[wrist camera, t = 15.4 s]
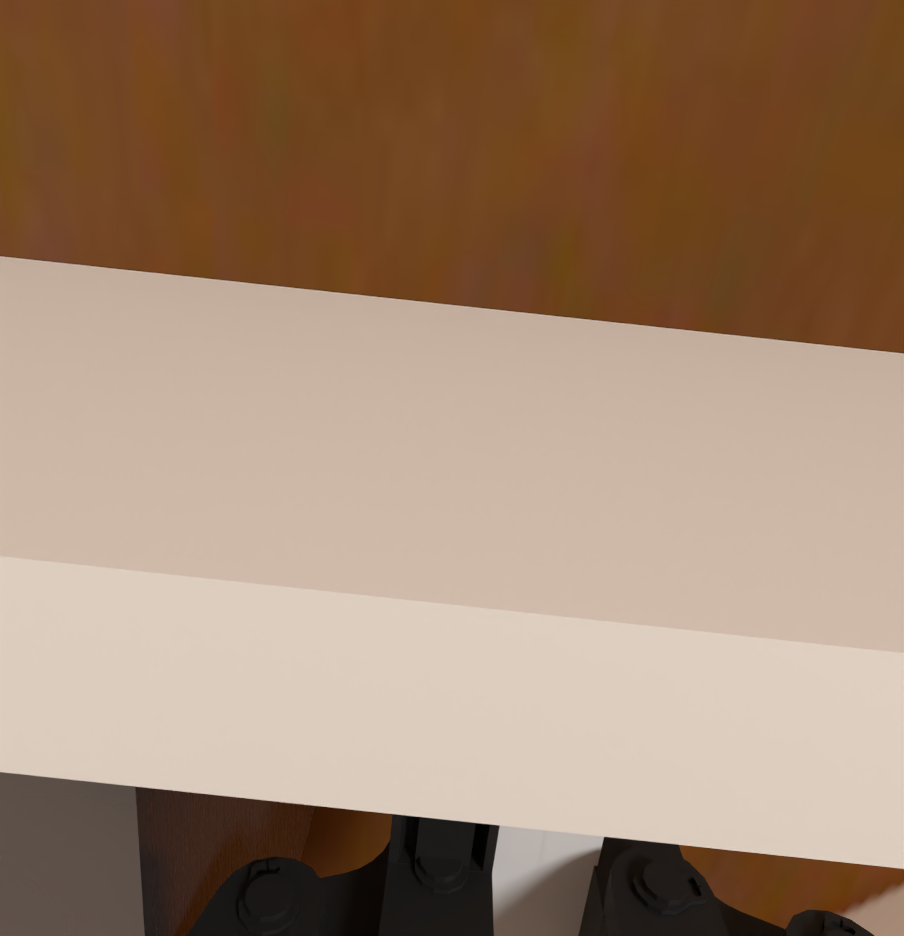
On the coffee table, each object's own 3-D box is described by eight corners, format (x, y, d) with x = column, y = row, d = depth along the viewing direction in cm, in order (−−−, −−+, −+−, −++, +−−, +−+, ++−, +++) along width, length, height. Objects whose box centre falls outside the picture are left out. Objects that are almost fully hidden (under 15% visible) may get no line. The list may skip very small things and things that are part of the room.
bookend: (235, 741, 18) (-33, 1309, 9) (234, 360, 15) (-202, 598, 5) (331, 751, 18) (169, 1331, 9) (352, 372, 15) (125, 633, 5)
